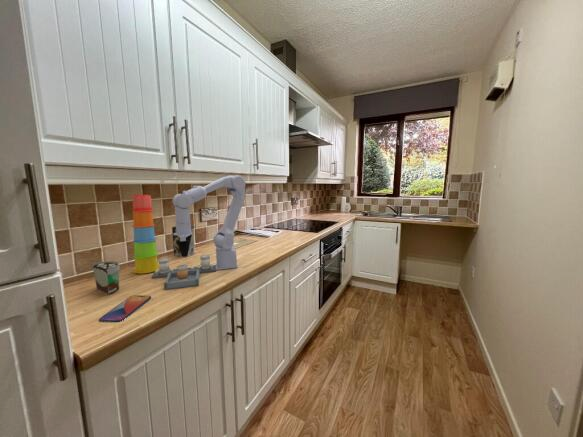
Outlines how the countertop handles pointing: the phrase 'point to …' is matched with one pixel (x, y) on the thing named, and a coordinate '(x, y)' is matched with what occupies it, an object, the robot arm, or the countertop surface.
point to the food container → (107, 276)
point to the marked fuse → (182, 272)
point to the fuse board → (212, 269)
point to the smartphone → (125, 308)
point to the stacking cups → (144, 235)
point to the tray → (173, 281)
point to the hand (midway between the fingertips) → (185, 253)
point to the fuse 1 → (164, 266)
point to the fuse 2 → (205, 262)
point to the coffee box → (176, 247)
